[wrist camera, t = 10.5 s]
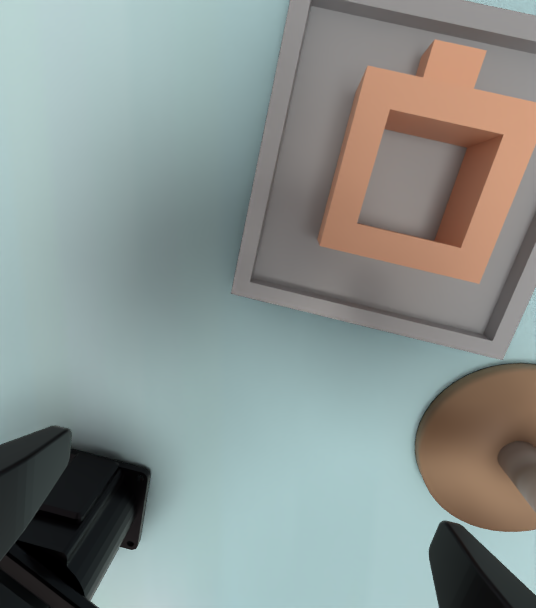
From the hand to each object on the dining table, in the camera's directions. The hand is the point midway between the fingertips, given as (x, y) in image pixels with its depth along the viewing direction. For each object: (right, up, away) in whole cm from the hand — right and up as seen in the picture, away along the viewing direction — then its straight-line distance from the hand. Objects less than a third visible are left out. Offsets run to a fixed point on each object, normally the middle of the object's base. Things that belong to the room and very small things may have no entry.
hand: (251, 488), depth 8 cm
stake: (+14, -4, +12) cm, 18 cm away
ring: (+7, +10, +8) cm, 14 cm away
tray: (+7, +10, +9) cm, 15 cm away
